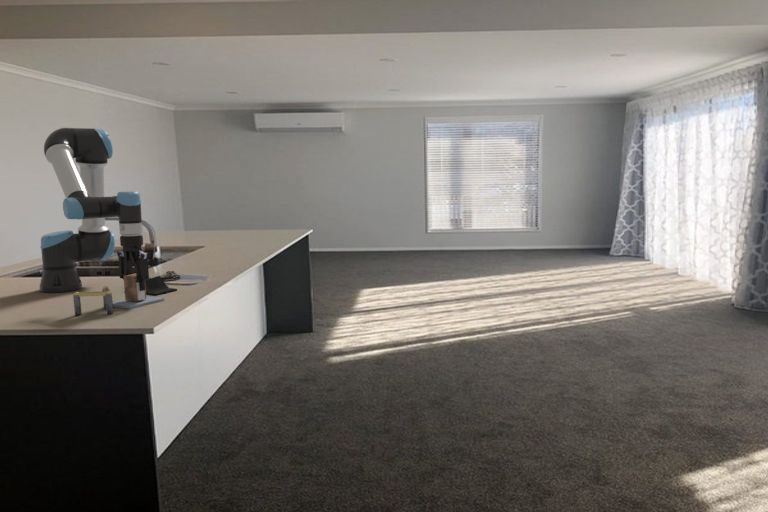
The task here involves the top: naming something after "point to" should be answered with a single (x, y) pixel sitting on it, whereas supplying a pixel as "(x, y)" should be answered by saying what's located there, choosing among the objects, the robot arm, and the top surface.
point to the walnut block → (131, 287)
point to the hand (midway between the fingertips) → (135, 298)
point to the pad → (136, 302)
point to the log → (170, 276)
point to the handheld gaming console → (157, 287)
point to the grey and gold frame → (106, 294)
